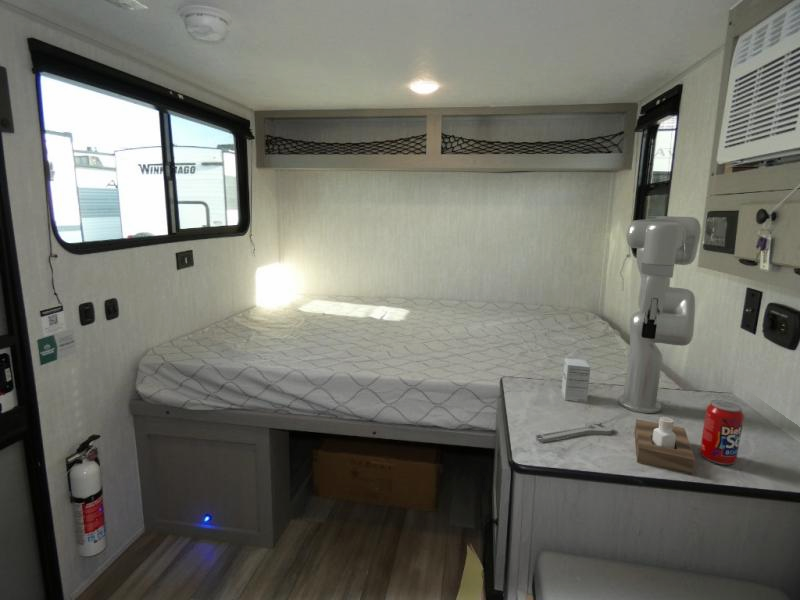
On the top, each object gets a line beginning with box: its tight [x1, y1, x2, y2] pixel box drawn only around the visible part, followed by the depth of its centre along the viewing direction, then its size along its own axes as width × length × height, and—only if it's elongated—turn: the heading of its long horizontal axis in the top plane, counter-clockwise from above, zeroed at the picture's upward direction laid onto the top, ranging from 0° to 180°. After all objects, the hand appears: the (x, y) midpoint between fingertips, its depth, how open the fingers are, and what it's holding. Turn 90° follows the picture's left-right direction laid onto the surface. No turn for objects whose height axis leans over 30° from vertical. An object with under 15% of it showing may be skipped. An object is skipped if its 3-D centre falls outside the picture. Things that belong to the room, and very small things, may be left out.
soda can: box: [699, 399, 745, 466], centre depth 117 cm, size 8×8×15 cm
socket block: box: [634, 419, 695, 475], centre depth 121 cm, size 18×12×4 cm, turn 155°
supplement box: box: [561, 357, 591, 403], centre depth 155 cm, size 7×7×13 cm
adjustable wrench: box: [534, 420, 614, 443], centre depth 131 cm, size 25×6×2 cm, turn 105°
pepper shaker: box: [652, 416, 676, 449], centre depth 119 cm, size 4×4×10 cm
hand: (647, 337), depth 124 cm, fingers closed
